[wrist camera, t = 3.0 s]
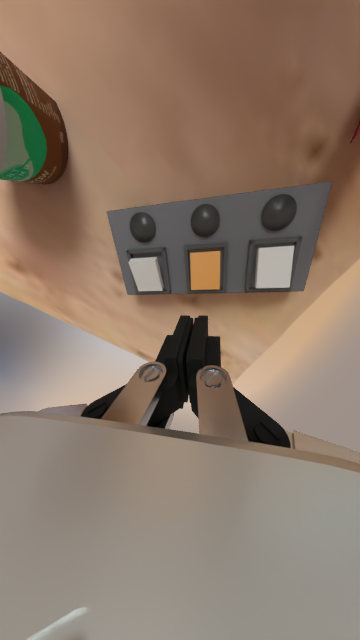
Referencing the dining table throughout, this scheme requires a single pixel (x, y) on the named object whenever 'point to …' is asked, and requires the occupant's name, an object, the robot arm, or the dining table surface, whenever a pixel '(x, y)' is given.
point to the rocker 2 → (274, 267)
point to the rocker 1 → (146, 274)
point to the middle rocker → (205, 270)
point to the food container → (29, 130)
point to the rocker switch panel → (222, 236)
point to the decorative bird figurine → (356, 131)
